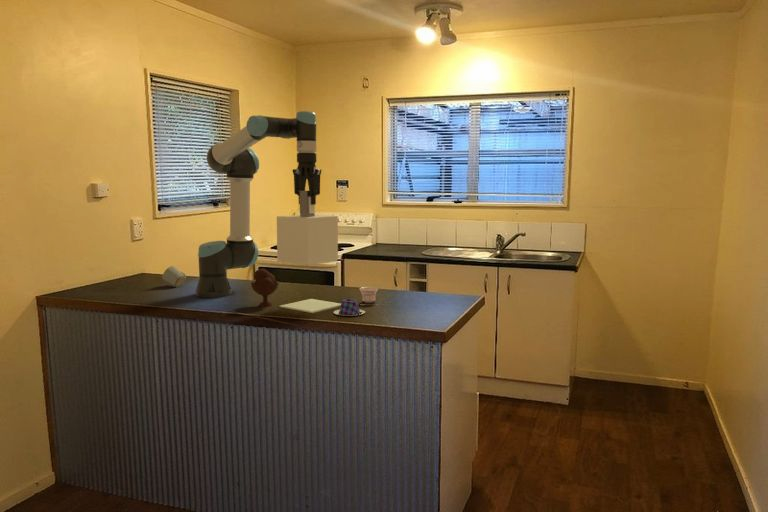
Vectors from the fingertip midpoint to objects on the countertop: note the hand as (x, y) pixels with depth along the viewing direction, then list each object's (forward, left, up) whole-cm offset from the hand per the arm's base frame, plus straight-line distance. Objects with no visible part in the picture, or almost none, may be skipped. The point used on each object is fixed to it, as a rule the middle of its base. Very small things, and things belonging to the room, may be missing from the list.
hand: (307, 212), depth 234 cm
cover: (0, 0, -19) cm, 19 cm away
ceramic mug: (-82, -5, -38) cm, 90 cm away
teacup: (+15, +20, -38) cm, 45 cm away
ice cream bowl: (-15, -9, -38) cm, 41 cm away
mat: (+1, +1, -37) cm, 37 cm away
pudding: (+21, 0, -38) cm, 43 cm away
